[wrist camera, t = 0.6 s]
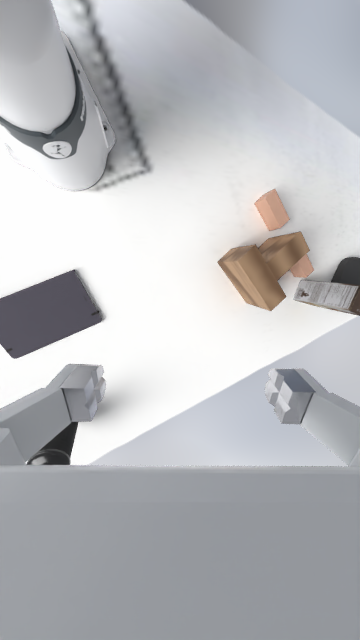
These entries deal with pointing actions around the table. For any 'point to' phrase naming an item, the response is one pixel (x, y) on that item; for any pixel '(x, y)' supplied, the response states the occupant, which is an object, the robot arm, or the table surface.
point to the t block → (263, 268)
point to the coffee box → (330, 295)
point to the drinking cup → (56, 448)
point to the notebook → (45, 314)
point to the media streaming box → (348, 272)
